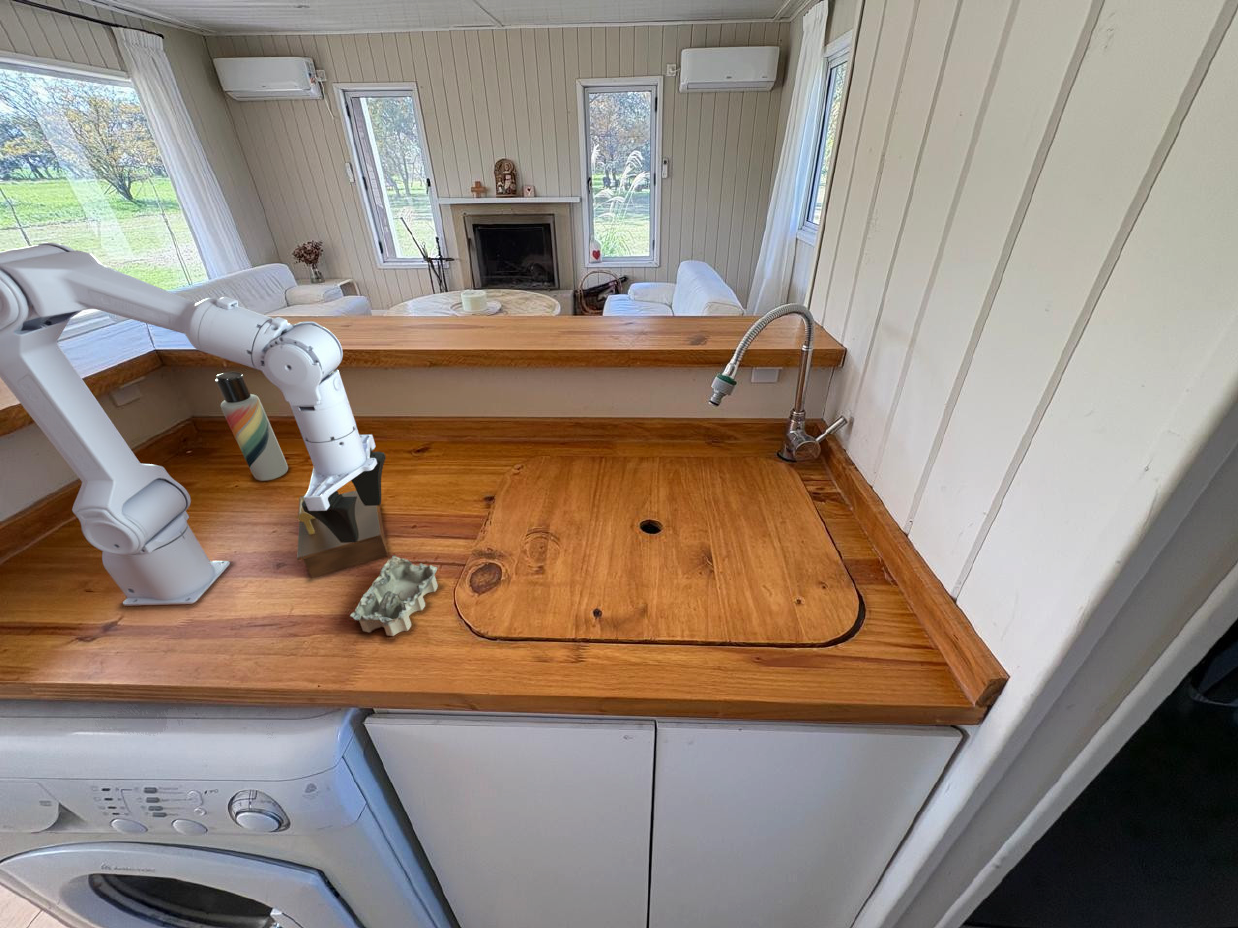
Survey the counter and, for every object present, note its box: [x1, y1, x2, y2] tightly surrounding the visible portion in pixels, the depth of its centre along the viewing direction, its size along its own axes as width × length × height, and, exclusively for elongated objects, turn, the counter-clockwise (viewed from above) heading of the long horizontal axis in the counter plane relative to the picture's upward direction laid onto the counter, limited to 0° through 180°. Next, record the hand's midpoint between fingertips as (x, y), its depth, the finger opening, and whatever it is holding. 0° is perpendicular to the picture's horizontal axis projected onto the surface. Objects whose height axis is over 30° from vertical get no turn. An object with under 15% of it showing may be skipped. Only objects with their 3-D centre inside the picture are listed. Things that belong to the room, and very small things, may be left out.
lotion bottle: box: [215, 371, 289, 482], centre depth 89 cm, size 6×6×20 cm
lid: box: [296, 490, 381, 562], centre depth 75 cm, size 11×14×4 cm
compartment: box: [302, 505, 389, 579], centre depth 77 cm, size 10×14×4 cm
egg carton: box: [349, 554, 439, 637], centre depth 66 cm, size 11×8×4 cm
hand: (361, 521), depth 66 cm, fingers open, 7 cm apart
